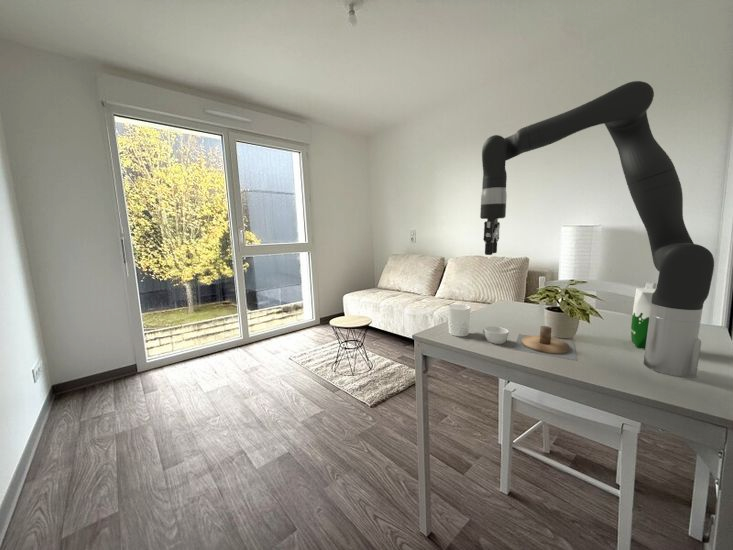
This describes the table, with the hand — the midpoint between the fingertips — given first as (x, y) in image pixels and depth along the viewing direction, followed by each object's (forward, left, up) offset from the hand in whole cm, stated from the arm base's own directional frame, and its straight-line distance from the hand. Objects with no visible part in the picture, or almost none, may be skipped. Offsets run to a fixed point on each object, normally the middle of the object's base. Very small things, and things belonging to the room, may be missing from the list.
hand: (490, 253), depth 98 cm
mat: (-17, -1, -29) cm, 34 cm away
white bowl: (-3, +2, -30) cm, 30 cm away
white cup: (+10, -1, -30) cm, 31 cm away
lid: (-17, -1, -29) cm, 33 cm away
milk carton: (-45, -18, -30) cm, 57 cm away
